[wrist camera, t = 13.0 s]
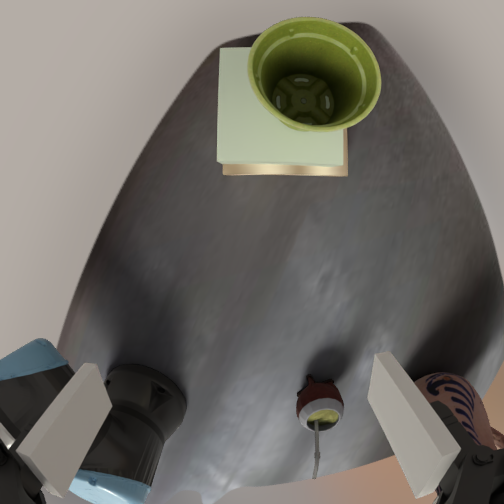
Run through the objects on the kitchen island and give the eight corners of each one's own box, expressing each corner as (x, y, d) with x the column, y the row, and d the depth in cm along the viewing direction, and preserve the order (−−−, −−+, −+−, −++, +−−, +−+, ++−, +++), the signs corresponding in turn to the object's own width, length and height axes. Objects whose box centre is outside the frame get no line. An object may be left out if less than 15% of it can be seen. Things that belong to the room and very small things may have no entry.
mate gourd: (327, 363, 43) (350, 432, 28) (342, 395, 44) (365, 461, 30) (284, 382, 44) (291, 454, 29) (302, 411, 45) (313, 480, 31)
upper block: (223, 164, 32) (216, 161, 27) (225, 65, 29) (220, 48, 24) (331, 167, 32) (343, 165, 27) (329, 69, 29) (340, 53, 24)
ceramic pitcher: (384, 368, 43) (448, 483, 19) (478, 344, 42) (554, 418, 18) (371, 435, 47) (406, 534, 23) (456, 409, 46) (506, 485, 22)
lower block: (227, 175, 37) (222, 174, 32) (227, 73, 34) (223, 59, 29) (336, 176, 37) (347, 176, 32) (333, 75, 34) (343, 63, 29)
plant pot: (249, 61, 25) (242, 18, 16) (343, 60, 24) (369, 20, 16) (257, 150, 27) (252, 134, 18) (355, 147, 26) (389, 133, 18)
